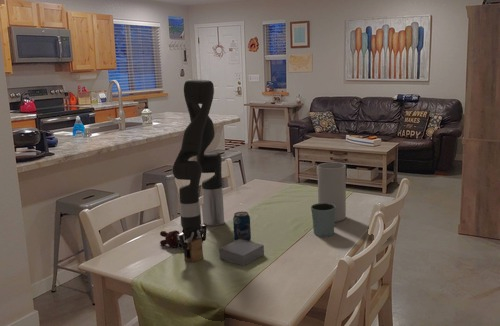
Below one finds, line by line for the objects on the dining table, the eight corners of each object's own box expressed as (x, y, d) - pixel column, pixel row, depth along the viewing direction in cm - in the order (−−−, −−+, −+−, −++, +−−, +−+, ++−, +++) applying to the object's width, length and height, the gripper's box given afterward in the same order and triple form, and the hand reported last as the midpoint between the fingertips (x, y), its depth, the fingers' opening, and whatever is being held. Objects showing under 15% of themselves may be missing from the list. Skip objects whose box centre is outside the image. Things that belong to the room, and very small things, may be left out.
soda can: (238, 245, 190) (237, 217, 187) (231, 240, 196) (230, 213, 193) (254, 242, 193) (252, 214, 190) (246, 237, 199) (245, 210, 196)
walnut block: (184, 259, 179) (183, 239, 177) (194, 255, 182) (192, 235, 181) (193, 262, 176) (192, 242, 174) (203, 258, 179) (201, 238, 178)
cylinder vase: (315, 221, 214) (314, 168, 209) (321, 212, 226) (321, 162, 220) (342, 223, 210) (342, 169, 204) (347, 214, 221) (348, 163, 216)
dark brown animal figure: (195, 230, 192) (165, 228, 198) (184, 231, 185) (154, 230, 192) (195, 247, 191) (165, 245, 198) (184, 249, 185) (154, 247, 191)
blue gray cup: (338, 230, 201) (338, 203, 199) (332, 239, 192) (331, 211, 190) (315, 228, 206) (315, 201, 203) (308, 236, 197) (307, 208, 194)
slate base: (219, 258, 178) (219, 248, 177) (240, 248, 187) (240, 238, 186) (243, 265, 171) (243, 255, 170) (264, 254, 180) (263, 245, 179)
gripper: (197, 206, 183) (200, 247, 186) (169, 216, 172) (172, 259, 176) (211, 209, 178) (213, 251, 182) (182, 220, 167) (186, 264, 171)
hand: (193, 255), depth 179 cm, fingers open, 5 cm apart
